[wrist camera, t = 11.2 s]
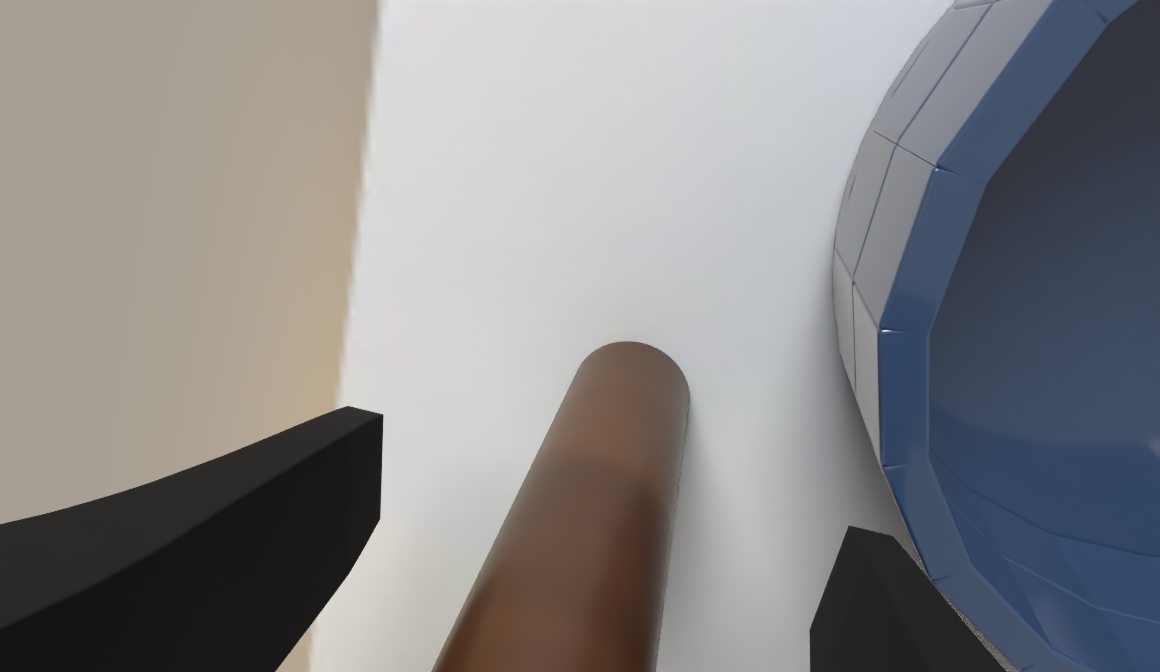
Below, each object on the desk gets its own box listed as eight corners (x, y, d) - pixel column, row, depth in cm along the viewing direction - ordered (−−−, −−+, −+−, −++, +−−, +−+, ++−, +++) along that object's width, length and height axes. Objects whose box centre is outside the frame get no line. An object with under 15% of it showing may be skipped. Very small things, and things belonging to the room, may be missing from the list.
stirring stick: (677, 456, 15) (606, 967, 6) (566, 430, 15) (365, 888, 7) (700, 354, 14) (653, 805, 5) (582, 329, 14) (371, 721, 6)
